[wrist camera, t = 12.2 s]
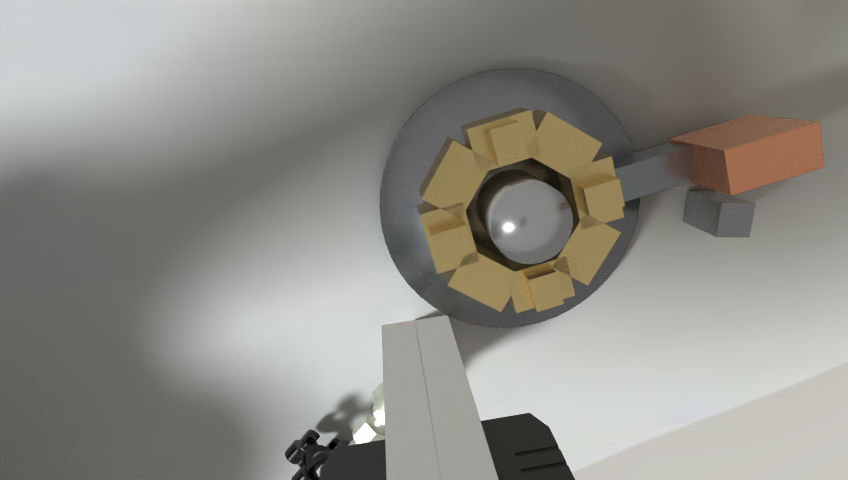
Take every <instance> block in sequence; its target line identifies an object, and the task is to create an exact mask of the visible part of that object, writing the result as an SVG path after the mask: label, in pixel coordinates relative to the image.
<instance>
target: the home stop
mask: <svg viewBox="0 0 848 480" xmlns="http://www.w3.org/2000/svg"><path fill="white" fill-rule="evenodd" d="M754 207H755V203H752V202H749V201H746V200H743V199H740V198H737V197H734V196H731V195H728V194H725V193H722V192H719V191H690V190H688V191H687V198H686V205H685V212H684V218H683V221H684V222H686V223H688V224H690V225H692V226H695V227H697V228H699V229H701V230H703V231H705V232H707V233H709V234H712V235H714V236H716V237H749V236H750V230H751V224H752V219H753V213H754Z"/></svg>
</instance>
